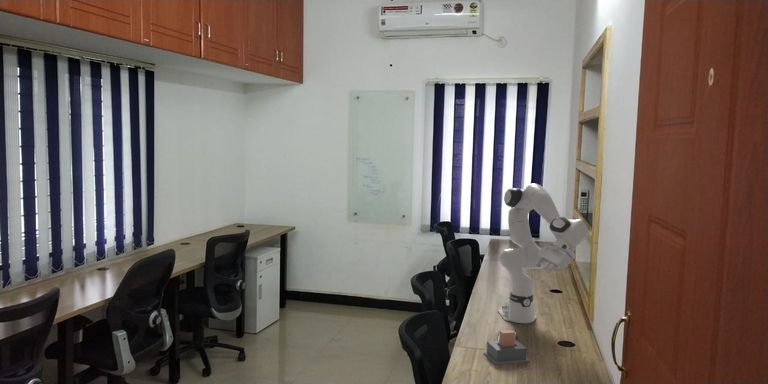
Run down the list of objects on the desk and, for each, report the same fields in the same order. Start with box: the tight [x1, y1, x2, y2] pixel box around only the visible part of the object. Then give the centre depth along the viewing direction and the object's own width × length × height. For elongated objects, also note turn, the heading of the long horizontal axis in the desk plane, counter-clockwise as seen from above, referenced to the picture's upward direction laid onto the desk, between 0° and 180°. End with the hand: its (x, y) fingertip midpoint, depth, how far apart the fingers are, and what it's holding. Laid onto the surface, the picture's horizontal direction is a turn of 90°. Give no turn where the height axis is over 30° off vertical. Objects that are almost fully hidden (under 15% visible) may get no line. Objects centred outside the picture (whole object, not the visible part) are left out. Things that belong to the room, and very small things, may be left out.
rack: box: [483, 338, 530, 366], centre depth 236 cm, size 12×16×6 cm
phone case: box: [496, 329, 518, 341], centre depth 260 cm, size 9×2×16 cm
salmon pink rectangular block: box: [499, 329, 516, 347], centre depth 236 cm, size 3×6×11 cm, turn 103°
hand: (541, 269), depth 249 cm, fingers open, 8 cm apart
